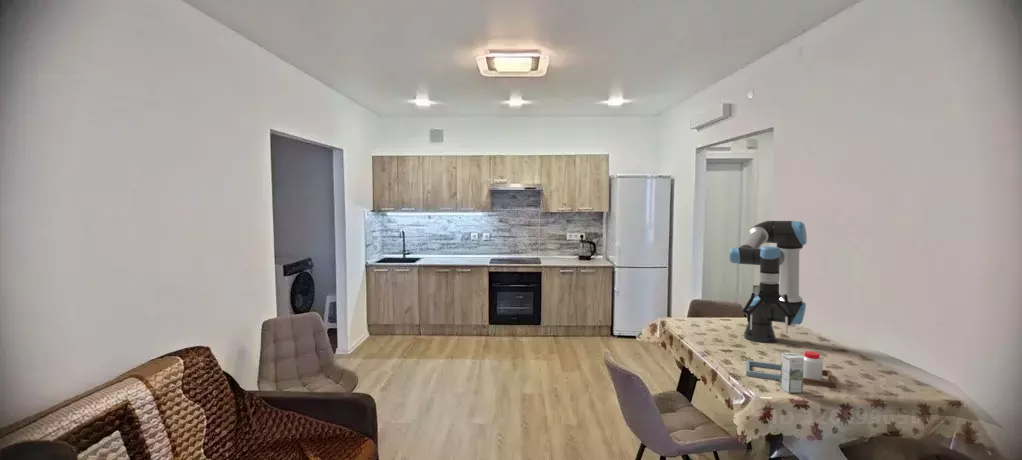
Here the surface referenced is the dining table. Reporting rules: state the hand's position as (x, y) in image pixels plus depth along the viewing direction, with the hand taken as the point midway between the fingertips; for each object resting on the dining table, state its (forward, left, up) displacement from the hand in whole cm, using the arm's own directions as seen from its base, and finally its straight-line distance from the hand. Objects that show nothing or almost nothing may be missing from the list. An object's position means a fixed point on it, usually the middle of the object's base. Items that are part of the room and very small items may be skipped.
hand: (768, 330), depth 210 cm
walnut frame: (0, +16, -19) cm, 25 cm away
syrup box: (+18, +8, -19) cm, 27 cm away
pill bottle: (0, +16, -19) cm, 25 cm away
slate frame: (0, -1, -19) cm, 19 cm away
